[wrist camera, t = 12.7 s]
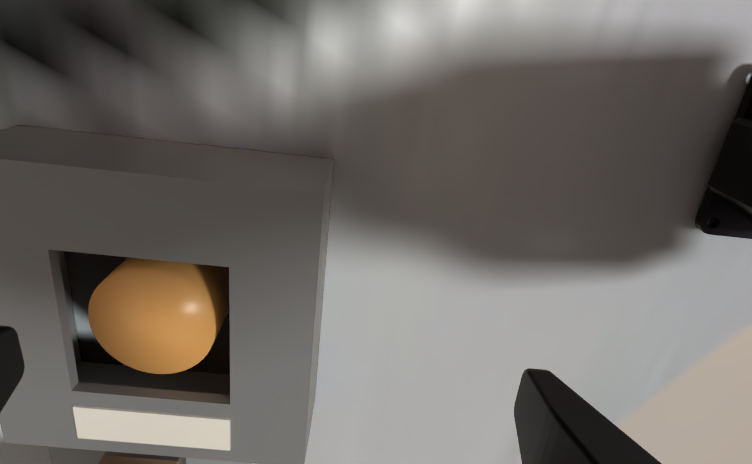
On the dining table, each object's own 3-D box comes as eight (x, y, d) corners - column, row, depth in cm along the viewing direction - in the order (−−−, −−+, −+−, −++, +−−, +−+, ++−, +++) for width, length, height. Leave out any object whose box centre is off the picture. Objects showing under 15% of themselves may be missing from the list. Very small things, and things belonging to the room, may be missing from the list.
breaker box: (333, 159, 20) (323, 193, 16) (314, 398, 24) (303, 469, 21) (18, 125, 19) (-70, 152, 15) (62, 376, 24) (3, 444, 20)
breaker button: (235, 240, 20) (213, 275, 18) (235, 333, 22) (215, 379, 20) (120, 229, 20) (80, 262, 18) (130, 324, 22) (95, 368, 19)
